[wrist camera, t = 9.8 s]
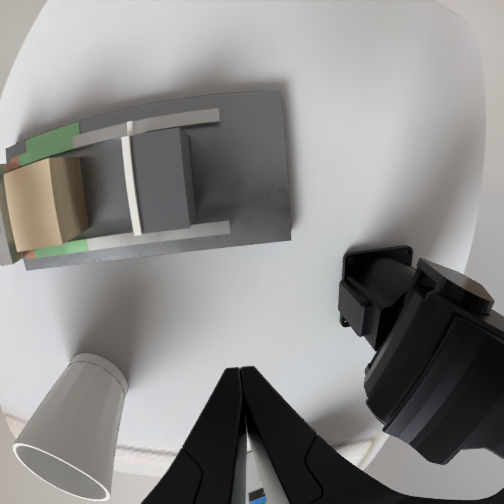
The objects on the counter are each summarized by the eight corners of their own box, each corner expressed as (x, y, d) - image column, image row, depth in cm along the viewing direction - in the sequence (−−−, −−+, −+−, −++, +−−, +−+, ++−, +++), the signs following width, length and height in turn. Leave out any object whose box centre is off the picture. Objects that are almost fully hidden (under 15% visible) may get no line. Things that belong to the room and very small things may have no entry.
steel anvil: (19, 162, 15) (-5, 165, 12) (33, 250, 17) (12, 264, 15) (6, 167, 15) (-17, 170, 12) (21, 253, 17) (0, 265, 15)
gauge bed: (277, 94, 17) (284, 86, 15) (287, 235, 21) (295, 245, 18) (14, 148, 16) (-4, 149, 14) (33, 265, 19) (18, 276, 17)
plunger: (187, 120, 16) (177, 108, 12) (196, 213, 18) (189, 228, 14) (140, 128, 16) (118, 120, 12) (150, 219, 18) (132, 236, 14)
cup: (49, 350, 22) (-5, 437, 10) (111, 339, 22) (61, 449, 10) (89, 407, 24) (58, 493, 13) (149, 402, 24) (131, 505, 13)
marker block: (79, 156, 16) (48, 158, 12) (89, 227, 18) (62, 244, 14) (36, 169, 16) (3, 174, 12) (47, 235, 17) (17, 252, 14)
